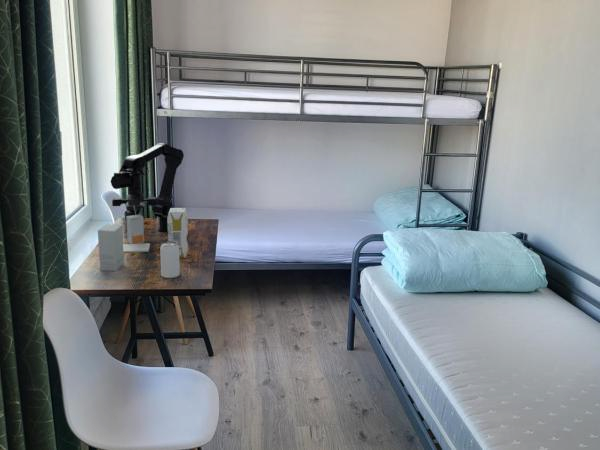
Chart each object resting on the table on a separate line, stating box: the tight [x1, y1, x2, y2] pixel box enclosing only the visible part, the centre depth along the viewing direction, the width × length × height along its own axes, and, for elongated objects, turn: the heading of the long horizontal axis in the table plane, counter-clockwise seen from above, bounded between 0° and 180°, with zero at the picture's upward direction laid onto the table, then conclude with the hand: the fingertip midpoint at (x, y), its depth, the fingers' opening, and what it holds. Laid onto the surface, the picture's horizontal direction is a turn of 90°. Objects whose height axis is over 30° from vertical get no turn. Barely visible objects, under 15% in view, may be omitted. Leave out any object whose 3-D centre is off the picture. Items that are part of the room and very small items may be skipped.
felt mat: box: [123, 242, 151, 253], centre depth 211 cm, size 10×12×1 cm
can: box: [159, 240, 181, 279], centre depth 180 cm, size 6×6×12 cm
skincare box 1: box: [97, 223, 125, 272], centre depth 186 cm, size 8×7×16 cm
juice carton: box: [167, 207, 189, 259], centre depth 201 cm, size 8×9×19 cm
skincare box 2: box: [126, 214, 145, 244], centre depth 217 cm, size 6×4×12 cm
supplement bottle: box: [124, 204, 141, 232], centre depth 238 cm, size 7×7×12 cm
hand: (136, 220), depth 224 cm, fingers closed
